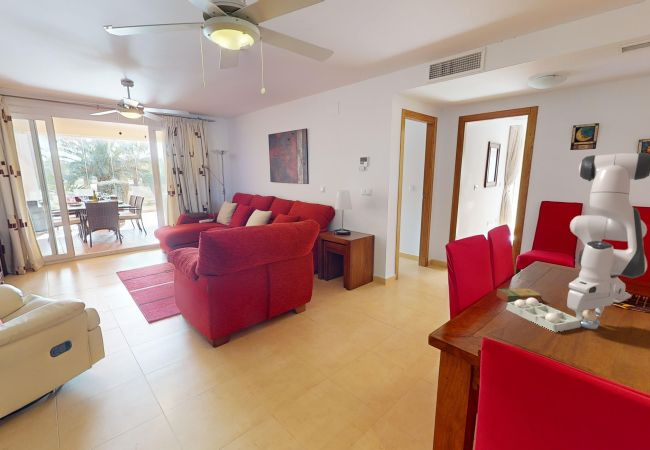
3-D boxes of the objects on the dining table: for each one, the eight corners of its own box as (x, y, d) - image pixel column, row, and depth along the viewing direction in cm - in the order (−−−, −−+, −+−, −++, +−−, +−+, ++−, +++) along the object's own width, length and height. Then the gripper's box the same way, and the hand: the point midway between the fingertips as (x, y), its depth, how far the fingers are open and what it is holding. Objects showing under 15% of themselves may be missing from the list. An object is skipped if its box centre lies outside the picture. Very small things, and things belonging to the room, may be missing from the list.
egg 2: (530, 305, 129) (531, 295, 128) (540, 309, 125) (542, 299, 124) (522, 306, 128) (523, 296, 127) (532, 310, 123) (534, 300, 123)
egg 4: (585, 318, 115) (586, 307, 115) (598, 323, 111) (600, 312, 110) (577, 319, 114) (578, 308, 113) (590, 325, 110) (592, 314, 109)
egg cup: (583, 320, 116) (584, 314, 116) (601, 327, 111) (602, 321, 110) (573, 322, 115) (574, 316, 114) (590, 330, 109) (591, 323, 109)
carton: (541, 303, 133) (542, 294, 133) (507, 304, 133) (508, 295, 132) (528, 296, 142) (529, 287, 141) (496, 296, 141) (496, 288, 140)
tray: (529, 305, 131) (530, 298, 130) (580, 327, 111) (581, 319, 111) (506, 309, 127) (506, 302, 126) (554, 332, 107) (555, 325, 107)
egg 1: (519, 307, 127) (520, 297, 126) (529, 311, 123) (530, 301, 122) (511, 308, 126) (512, 298, 125) (521, 313, 121) (522, 302, 121)
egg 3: (550, 321, 115) (551, 310, 114) (562, 326, 110) (563, 315, 110) (541, 322, 113) (542, 311, 113) (553, 328, 109) (555, 317, 108)
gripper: (602, 278, 116) (597, 310, 118) (565, 284, 110) (561, 317, 112) (622, 283, 110) (616, 317, 112) (584, 290, 104) (579, 325, 106)
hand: (588, 317), depth 112 cm, fingers open, 8 cm apart
